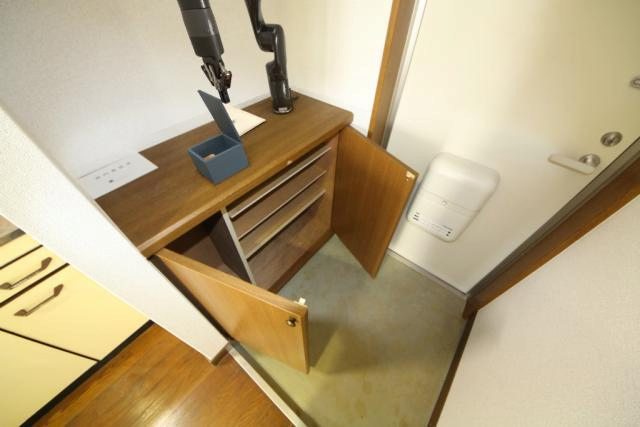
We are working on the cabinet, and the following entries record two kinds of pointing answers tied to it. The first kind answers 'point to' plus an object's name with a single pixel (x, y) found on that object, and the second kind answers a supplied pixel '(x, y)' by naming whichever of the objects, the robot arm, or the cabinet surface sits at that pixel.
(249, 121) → the white triangular panel
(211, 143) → the chest
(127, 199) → the cabinet surface
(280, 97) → the robot arm
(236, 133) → the lid
